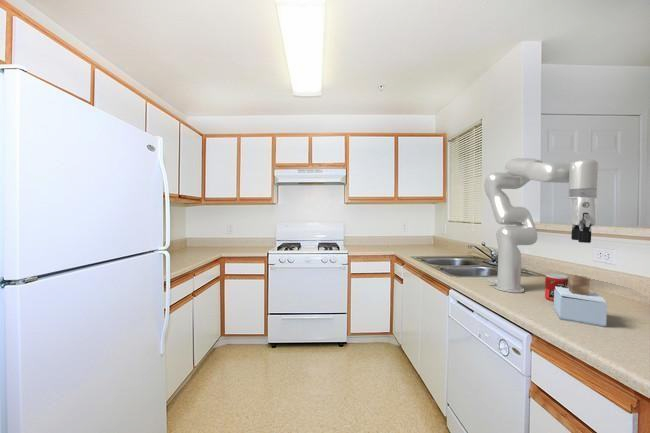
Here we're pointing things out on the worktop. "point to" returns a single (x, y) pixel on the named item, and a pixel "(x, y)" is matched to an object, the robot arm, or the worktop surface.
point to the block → (579, 285)
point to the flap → (591, 297)
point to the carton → (580, 310)
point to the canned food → (554, 284)
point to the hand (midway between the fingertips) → (580, 241)
